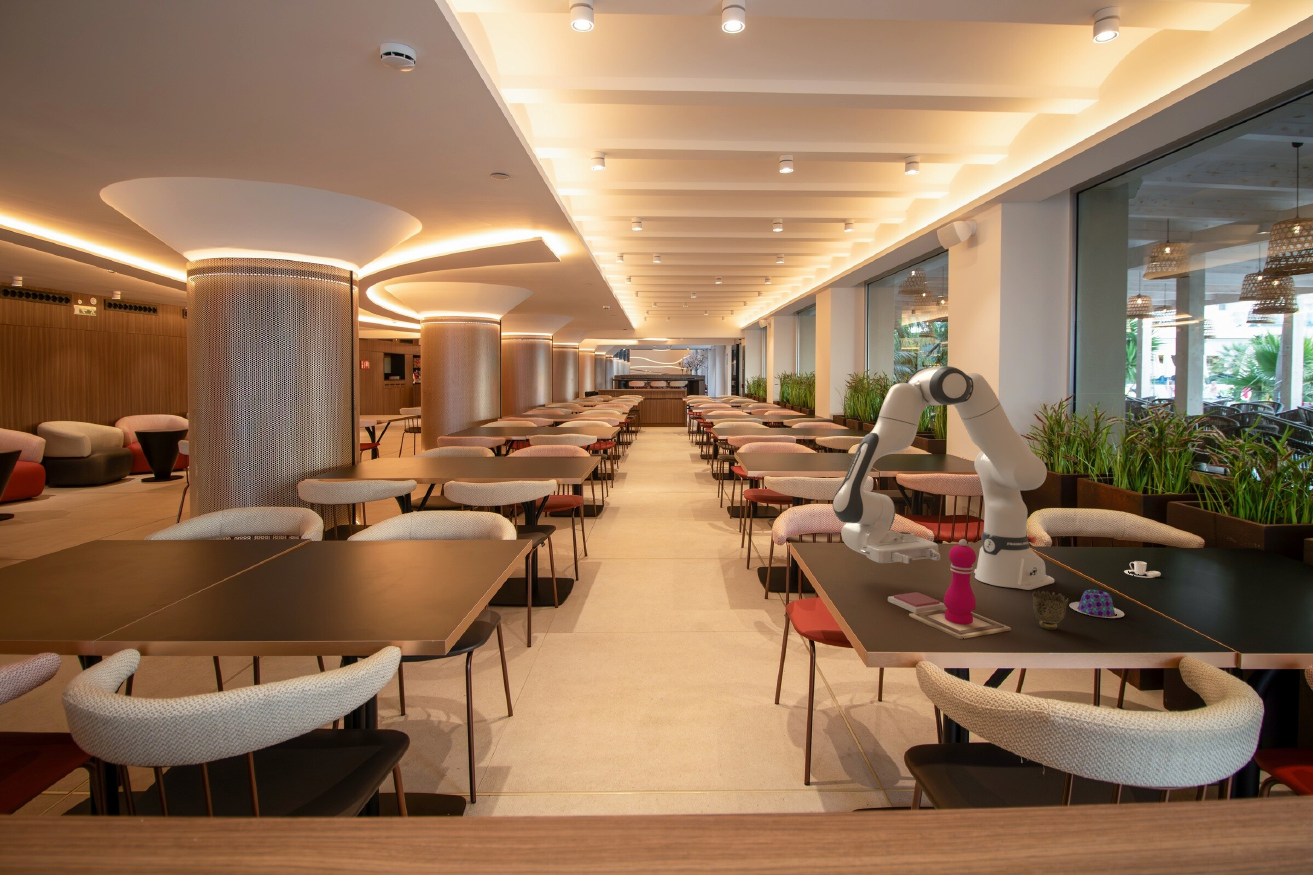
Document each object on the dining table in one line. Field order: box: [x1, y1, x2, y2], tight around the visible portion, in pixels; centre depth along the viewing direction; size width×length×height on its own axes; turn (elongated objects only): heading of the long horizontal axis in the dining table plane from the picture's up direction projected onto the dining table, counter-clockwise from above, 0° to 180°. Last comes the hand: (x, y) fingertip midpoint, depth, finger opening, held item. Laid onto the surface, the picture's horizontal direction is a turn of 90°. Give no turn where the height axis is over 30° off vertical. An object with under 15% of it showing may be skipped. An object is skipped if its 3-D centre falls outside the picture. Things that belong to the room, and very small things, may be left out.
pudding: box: [1069, 589, 1125, 619], centre depth 177 cm, size 12×12×5 cm
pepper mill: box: [943, 538, 977, 624], centre depth 166 cm, size 7×7×20 cm
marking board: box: [908, 607, 1012, 640], centre depth 167 cm, size 16×16×1 cm
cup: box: [1031, 590, 1069, 631], centre depth 164 cm, size 8×7×8 cm
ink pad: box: [887, 591, 947, 613], centre depth 179 cm, size 10×10×2 cm
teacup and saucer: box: [1123, 560, 1162, 579], centre depth 212 cm, size 9×8×4 cm
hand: (924, 558), depth 177 cm, fingers open, 8 cm apart
